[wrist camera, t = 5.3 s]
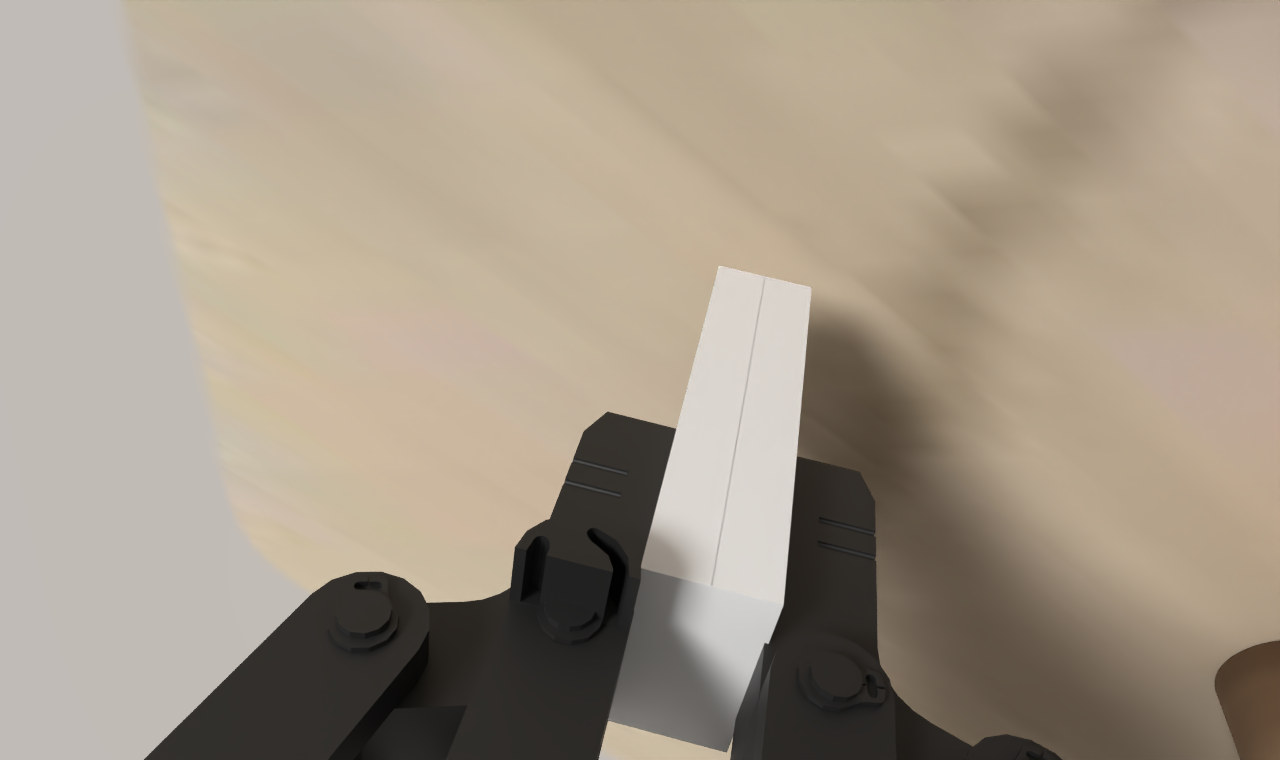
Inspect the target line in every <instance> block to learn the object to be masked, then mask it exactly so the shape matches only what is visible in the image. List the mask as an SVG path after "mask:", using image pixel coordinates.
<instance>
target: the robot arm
mask: <svg viewBox="0 0 1280 760" xmlns="http://www.w3.org/2000/svg"><path fill="white" fill-rule="evenodd" d="M811 289H812V287H808V286H803V285H799V284H795V283H791V282H787V281H782V280H778V279H774V278H770V277H765V276H761V275H757V274H753V273H749V272H744V271H740V270H736V269H732V268H727V267H723V266H719V268H718V272H717V275H716V279H715V283H714V287H713V291H712V295H711V298H710V302H709V306H708V310H707V314H706V318H705V321H704V325H703V329H702V333H701V337H700V341H699V345H698V348H697V352H696V356H695V360H694V364H693V368H692V371H691V375H690V379H689V383H688V387H687V391H686V394H685V398H684V402H683V406H682V410H681V414H680V417H679V421H678V425H677V429H675V428H671V427H667V426H663V425H659V424H655V423H651V422H647V421H643V420H639V419H635V418H631V417H627V416H623V415H619V414H615V413H610V412H607V413H605V414H604V415H603V416H602V417H601V418H599V419H598V420H597V421H596V422H594V423H593V424H592V425H591V426H590V427H588V428H587V429H586V430H585V431H584V432H583V435H582V438H581V440H580V443H579V445H578V448H577V450H576V453H575V456H574V459H573V462H572V463H571V466H570V468H569V471H568V474H567V476H566V479H565V483H564V484H563V486H562V489H561V492H560V494H559V497H558V499H557V502H556V504H555V507H554V510H553V512H552V515H551V517H550V519H549V520H545V521H543V522H542V523H540V524H538V525H536V526H535V527H533V528H531V529H530V530H528V531H527V532H526V533H525V534H524V536H523V537H522V538H521V540H520V541H519V542H518V544H517V545H516V547H515V552H514V561H513V570H512V579H511V588H509V589H508V590H506V591H504V592H502V593H501V594H498V595H495V596H492V597H489V598H486V599H483V600H476V601H468V602H441V603H426V601H425V599H424V597H423V595H422V593H421V592H420V591H419V590H418V589H417V588H415V587H414V586H413V585H411V584H410V583H409V582H407V581H406V580H405V579H403V578H400V577H397V576H393V575H390V574H387V573H383V572H355V573H352V574H349V575H346V576H343V577H339V578H336V579H333V580H331V581H330V582H328V583H327V584H325V585H324V586H322V587H321V588H320V589H318V590H317V591H315V592H314V593H312V594H311V595H310V596H309V597H308V598H307V599H306V600H305V601H304V602H303V603H302V604H301V605H300V606H299V607H298V608H297V609H296V610H295V611H294V612H293V613H292V614H291V615H290V616H289V617H288V618H287V619H286V620H285V621H284V622H283V623H282V624H281V625H280V626H279V627H278V628H277V629H276V630H275V631H274V632H273V633H272V634H271V635H270V636H269V637H268V638H267V639H266V640H265V641H264V642H263V643H262V644H261V645H260V646H259V647H258V648H257V649H256V650H254V652H252V653H251V654H250V655H249V656H248V658H246V659H245V660H244V661H243V663H241V664H240V665H239V666H238V667H237V668H236V669H235V671H233V672H232V673H231V674H230V675H229V676H228V677H227V678H226V679H225V680H224V681H223V682H222V683H221V684H220V685H219V686H218V687H217V688H216V689H215V690H214V691H213V692H212V693H211V694H210V695H209V696H208V697H207V698H206V699H205V700H204V701H203V702H202V703H201V704H200V705H199V706H198V707H197V708H196V709H195V710H194V711H193V712H192V713H191V714H190V715H189V716H188V717H187V718H186V719H185V720H184V721H183V722H182V723H180V724H179V725H178V726H177V728H175V729H174V730H173V731H172V732H171V733H170V734H169V735H168V736H167V737H166V738H165V739H164V740H163V741H162V742H161V743H160V744H159V745H158V746H157V747H156V748H155V749H154V750H153V751H152V752H151V753H150V754H149V755H148V756H147V757H146V758H145V759H144V760H598V759H599V755H600V750H601V746H602V742H603V738H604V734H605V730H606V726H607V722H608V721H612V722H615V723H619V724H623V725H627V726H630V727H634V728H638V729H641V730H645V731H649V732H652V733H656V734H660V735H664V736H667V737H671V738H675V739H678V740H682V741H686V742H690V743H693V744H697V745H701V746H704V747H708V748H712V749H716V750H719V751H723V752H727V750H728V748H729V745H730V743H731V740H732V738H733V743H732V751H731V759H730V760H1062V759H1061V758H1060V757H1059V756H1057V755H1056V754H1055V753H1053V752H1051V751H1049V750H1048V749H1046V748H1044V747H1042V746H1041V745H1039V744H1037V743H1035V742H1033V741H1032V740H1028V739H1024V738H1019V737H1015V736H1010V735H1000V736H993V737H987V738H984V739H983V740H981V741H980V742H979V743H978V744H976V745H975V746H974V747H972V746H970V745H969V744H967V743H965V742H963V741H962V740H960V739H958V738H956V737H955V736H953V735H951V734H949V733H948V732H946V731H944V730H942V729H941V728H939V727H937V726H935V725H934V724H932V723H930V722H929V721H927V720H926V719H924V718H923V717H921V716H920V715H919V714H917V713H916V712H914V711H913V710H912V709H911V708H910V707H909V706H908V705H907V704H906V703H905V702H904V701H903V700H902V699H901V698H900V697H898V695H897V694H896V692H895V691H894V690H893V688H892V687H891V684H890V680H889V678H888V676H887V675H886V673H885V672H884V670H883V669H882V667H881V665H880V661H879V655H878V649H877V591H876V561H875V556H876V537H874V535H875V501H874V499H873V497H872V495H871V493H870V491H869V489H868V487H867V485H866V483H865V481H864V480H863V478H862V476H861V474H860V472H858V471H854V470H850V469H846V468H842V467H838V466H834V465H830V464H826V463H821V462H817V461H813V460H809V459H805V458H801V457H797V447H798V436H799V425H800V413H801V402H802V391H803V379H804V368H805V357H806V345H807V334H808V323H809V311H810V300H811Z"/></svg>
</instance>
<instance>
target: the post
mask: <svg viewBox="0 0 1280 760" xmlns="http://www.w3.org/2000/svg"><path fill="white" fill-rule="evenodd" d="M1215 690H1216V693H1217V696H1218V699H1219V701H1220V704H1221V707H1222V710H1223V712H1224V715H1225V718H1226V721H1227V723H1228V726H1229V729H1230V732H1231V734H1232V737H1233V740H1234V743H1235V745H1236V748H1237V751H1238V754H1239V756H1240V759H1241V760H1280V641H1275V642H1269V643H1264V644H1260V645H1257V646H1254V647H1251V648H1248V649H1246V650H1244V651H1241V652H1239V653H1238V654H1236V655H1234V656H1233V657H1231V658H1230V659H1229V660H1227V661H1226V662H1225V663H1224V664H1223V665H1222V666H1221V668H1220V669H1219V671H1218V673H1217V675H1216V678H1215Z"/></svg>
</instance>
